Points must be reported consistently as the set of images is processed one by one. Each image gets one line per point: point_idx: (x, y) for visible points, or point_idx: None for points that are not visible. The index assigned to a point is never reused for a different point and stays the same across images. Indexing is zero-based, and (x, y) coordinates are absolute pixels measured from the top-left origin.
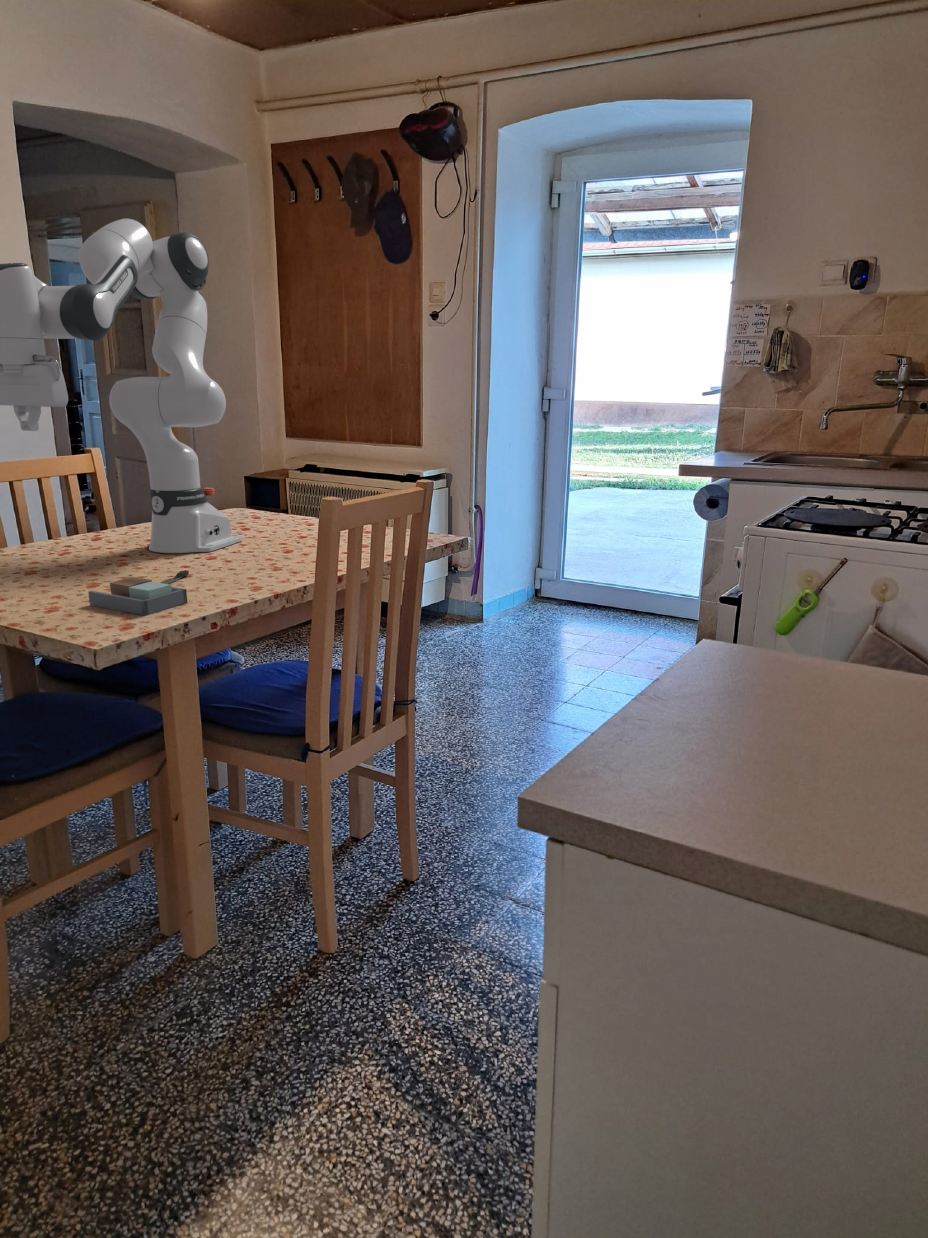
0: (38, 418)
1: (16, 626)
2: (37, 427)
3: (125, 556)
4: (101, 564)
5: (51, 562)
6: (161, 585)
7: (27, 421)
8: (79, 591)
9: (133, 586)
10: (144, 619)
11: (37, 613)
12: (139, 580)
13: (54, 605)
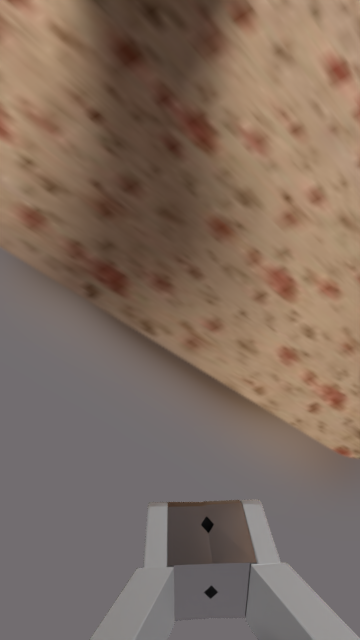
0: (308, 591)
1: (349, 453)
2: (262, 519)
3: (134, 56)
4: (159, 155)
5: (56, 197)
6: None
7: (245, 616)
8: (292, 320)
9: None
10: None
11: (329, 414)
12: None
13: (319, 383)
